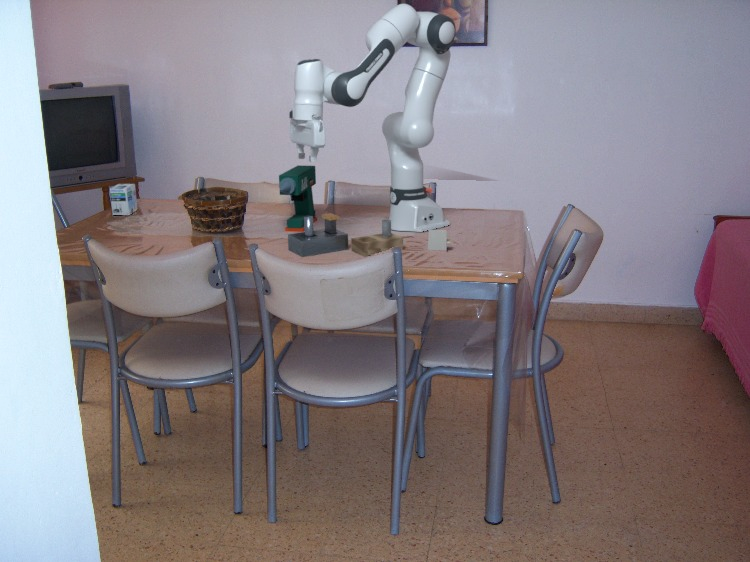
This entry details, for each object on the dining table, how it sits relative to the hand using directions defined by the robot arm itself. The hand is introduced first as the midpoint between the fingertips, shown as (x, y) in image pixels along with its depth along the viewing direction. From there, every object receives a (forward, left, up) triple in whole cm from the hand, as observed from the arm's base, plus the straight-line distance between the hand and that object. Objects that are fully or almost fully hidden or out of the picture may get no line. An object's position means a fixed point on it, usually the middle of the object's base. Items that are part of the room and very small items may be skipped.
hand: (307, 160), depth 241 cm
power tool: (-7, -24, -28) cm, 38 cm away
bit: (+2, +4, -28) cm, 28 cm away
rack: (-16, +15, -28) cm, 35 cm away
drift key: (-5, +4, -25) cm, 26 cm away
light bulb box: (+36, -86, -28) cm, 97 cm away
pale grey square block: (-31, +26, -29) cm, 49 cm away
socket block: (-1, +4, -28) cm, 28 cm away
